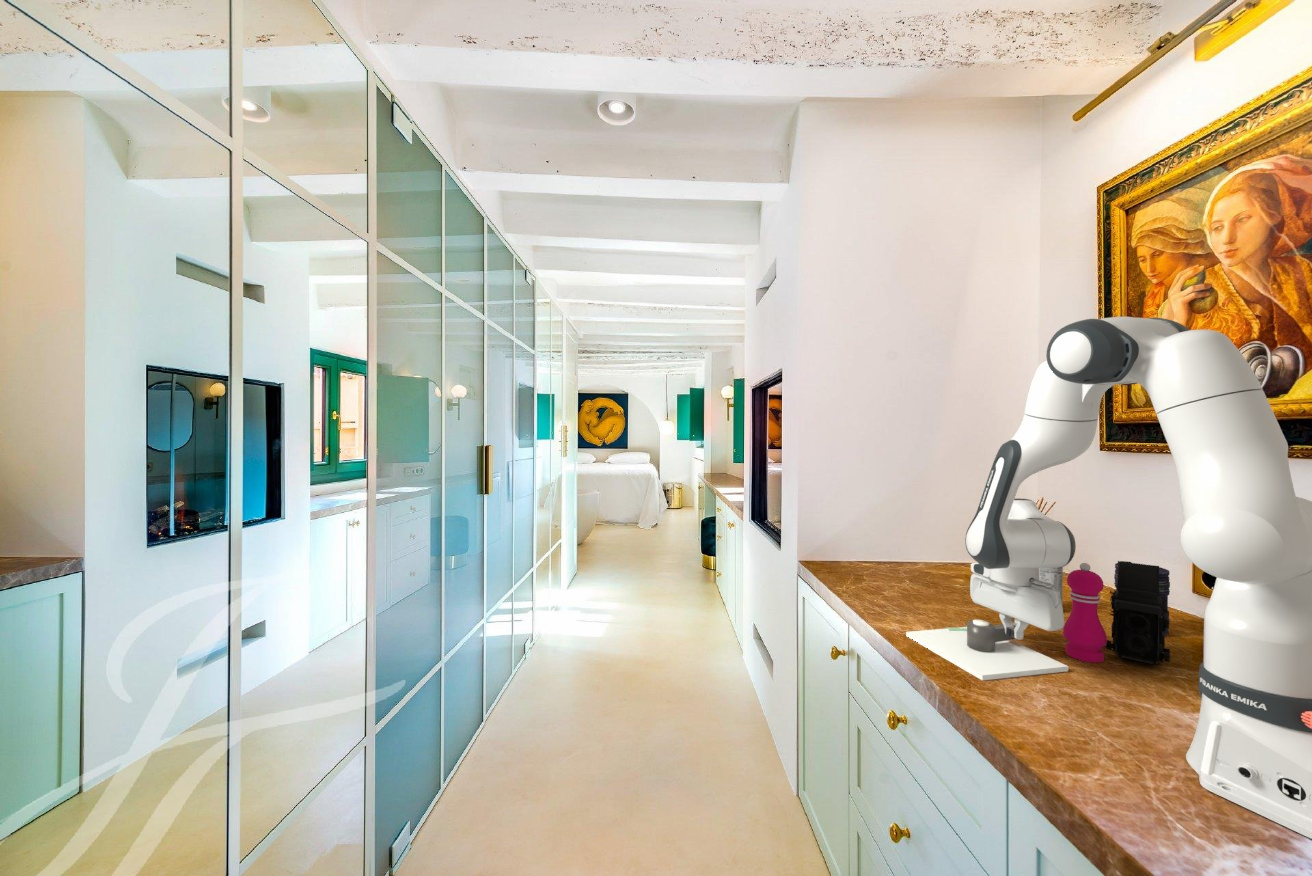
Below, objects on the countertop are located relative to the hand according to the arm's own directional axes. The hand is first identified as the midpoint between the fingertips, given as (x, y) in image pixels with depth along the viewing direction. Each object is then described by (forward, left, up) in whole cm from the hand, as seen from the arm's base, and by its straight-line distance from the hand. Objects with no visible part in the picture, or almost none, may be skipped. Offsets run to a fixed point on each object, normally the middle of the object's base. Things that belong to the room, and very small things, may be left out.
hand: (1013, 636), depth 111 cm
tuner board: (+2, +7, -4) cm, 8 cm away
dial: (+2, +3, -2) cm, 4 cm away
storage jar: (+6, -42, -4) cm, 43 cm away
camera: (-7, -23, -4) cm, 25 cm away
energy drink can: (+22, -33, -4) cm, 40 cm away
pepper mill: (-4, -13, -4) cm, 15 cm away
